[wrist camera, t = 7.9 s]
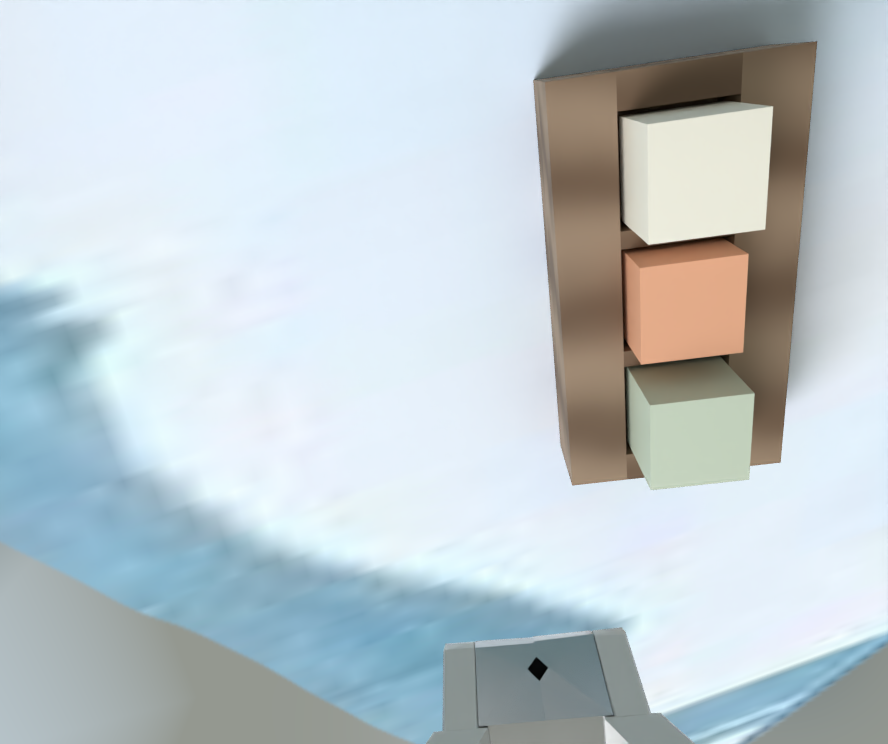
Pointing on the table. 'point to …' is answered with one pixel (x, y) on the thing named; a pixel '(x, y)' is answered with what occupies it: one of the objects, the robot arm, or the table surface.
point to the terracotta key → (684, 299)
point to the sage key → (689, 422)
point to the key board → (604, 236)
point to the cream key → (695, 170)
